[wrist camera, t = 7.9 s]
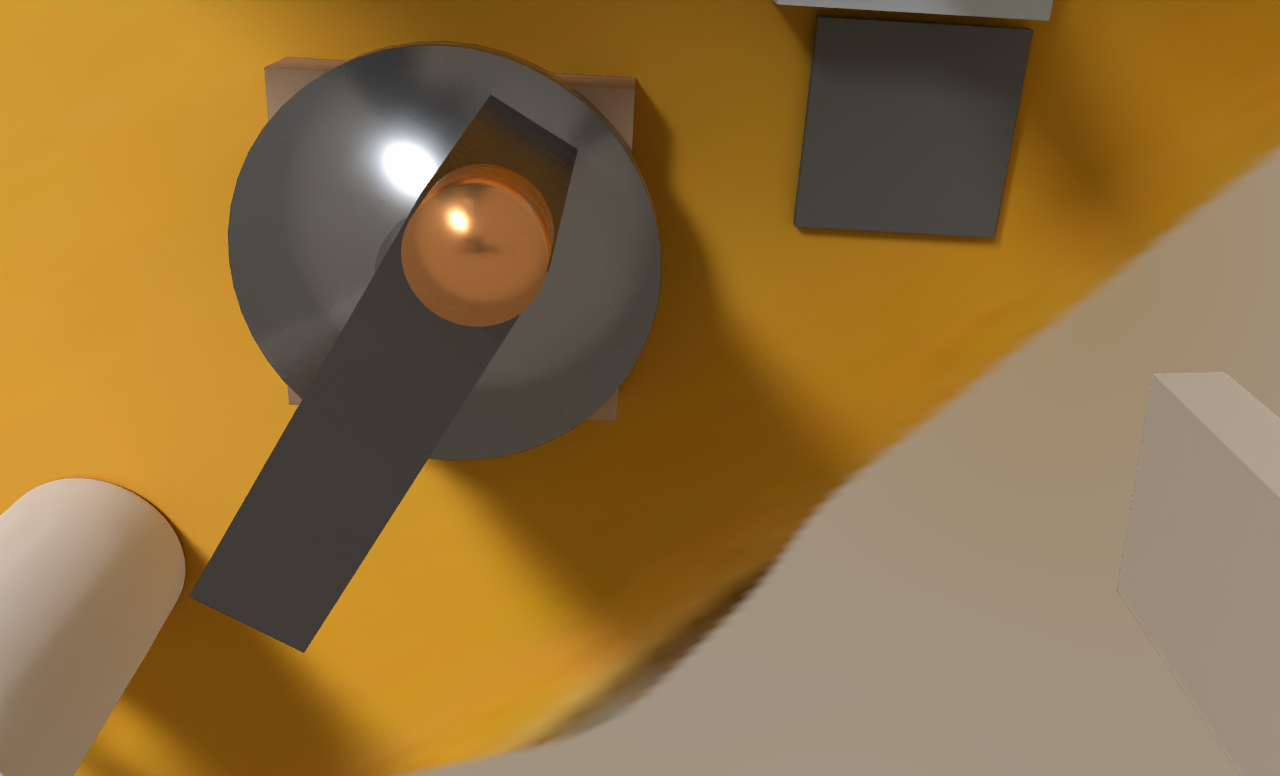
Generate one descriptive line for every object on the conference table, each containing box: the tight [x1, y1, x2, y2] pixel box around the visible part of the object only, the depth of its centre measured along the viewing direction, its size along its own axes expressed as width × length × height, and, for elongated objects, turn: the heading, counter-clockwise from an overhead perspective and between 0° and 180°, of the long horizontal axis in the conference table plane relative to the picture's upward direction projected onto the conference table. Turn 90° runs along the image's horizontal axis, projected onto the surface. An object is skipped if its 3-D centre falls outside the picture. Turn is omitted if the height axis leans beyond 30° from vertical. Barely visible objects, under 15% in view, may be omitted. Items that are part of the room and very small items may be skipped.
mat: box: [793, 16, 1033, 238], centre depth 33 cm, size 6×6×1 cm
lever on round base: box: [189, 41, 661, 653], centre depth 27 cm, size 12×12×13 cm
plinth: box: [265, 57, 636, 422], centre depth 34 cm, size 10×10×2 cm
